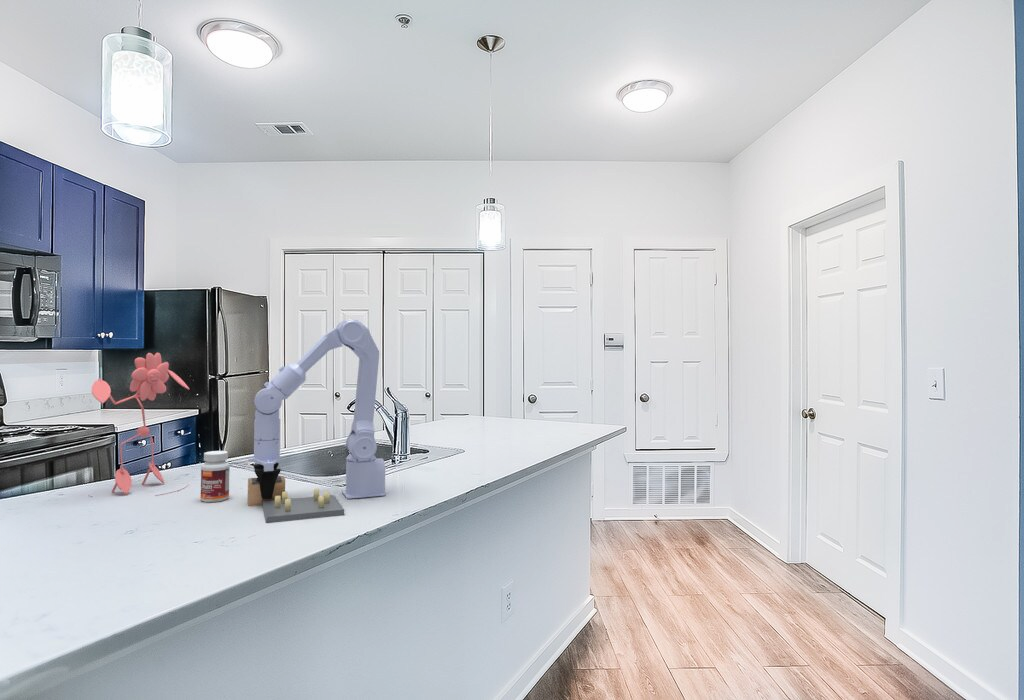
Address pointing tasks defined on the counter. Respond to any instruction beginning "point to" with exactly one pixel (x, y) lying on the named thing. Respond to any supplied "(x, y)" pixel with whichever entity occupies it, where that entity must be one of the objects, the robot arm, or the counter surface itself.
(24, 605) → the counter surface
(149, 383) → the figurine
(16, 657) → the counter surface
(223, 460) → the pill bottle
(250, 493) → the tan wooden block
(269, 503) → the grey peg board
